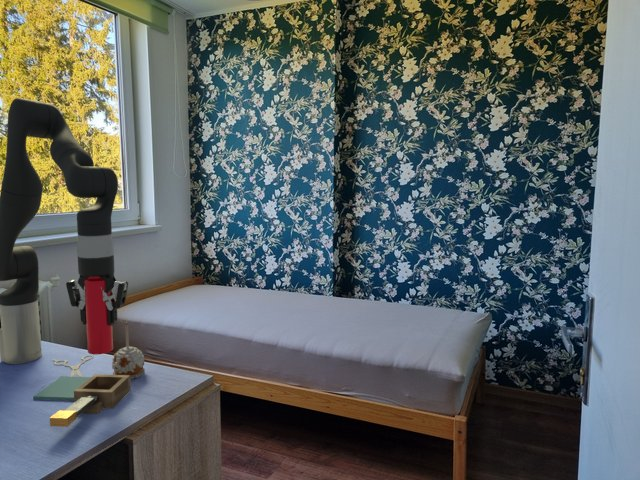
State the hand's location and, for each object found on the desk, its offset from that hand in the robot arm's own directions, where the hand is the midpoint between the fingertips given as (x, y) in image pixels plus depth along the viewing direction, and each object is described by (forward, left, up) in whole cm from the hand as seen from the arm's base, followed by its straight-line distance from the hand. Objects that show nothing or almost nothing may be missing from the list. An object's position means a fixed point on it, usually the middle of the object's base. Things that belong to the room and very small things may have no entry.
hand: (99, 323), depth 105 cm
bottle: (0, 0, -7) cm, 7 cm away
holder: (0, -1, -19) cm, 19 cm away
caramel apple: (0, +13, -19) cm, 23 cm away
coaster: (-11, +4, -19) cm, 22 cm away
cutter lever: (0, -11, -16) cm, 20 cm away
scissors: (-17, +16, -19) cm, 30 cm away
